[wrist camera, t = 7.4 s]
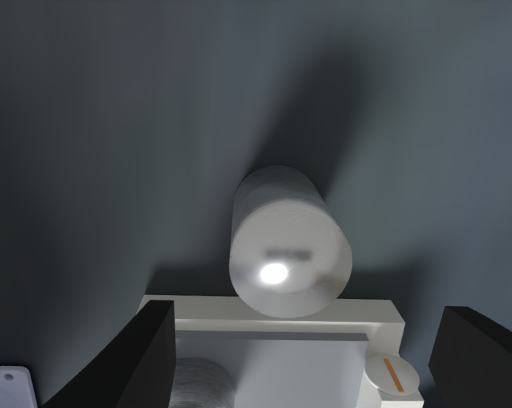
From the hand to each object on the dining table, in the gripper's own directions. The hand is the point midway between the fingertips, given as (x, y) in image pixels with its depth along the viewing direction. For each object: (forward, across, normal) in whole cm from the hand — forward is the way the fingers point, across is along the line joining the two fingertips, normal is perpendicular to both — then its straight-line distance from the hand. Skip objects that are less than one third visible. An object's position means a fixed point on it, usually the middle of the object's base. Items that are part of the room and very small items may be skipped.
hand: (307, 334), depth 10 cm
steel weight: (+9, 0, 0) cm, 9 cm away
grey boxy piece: (+9, 0, +10) cm, 14 cm away
